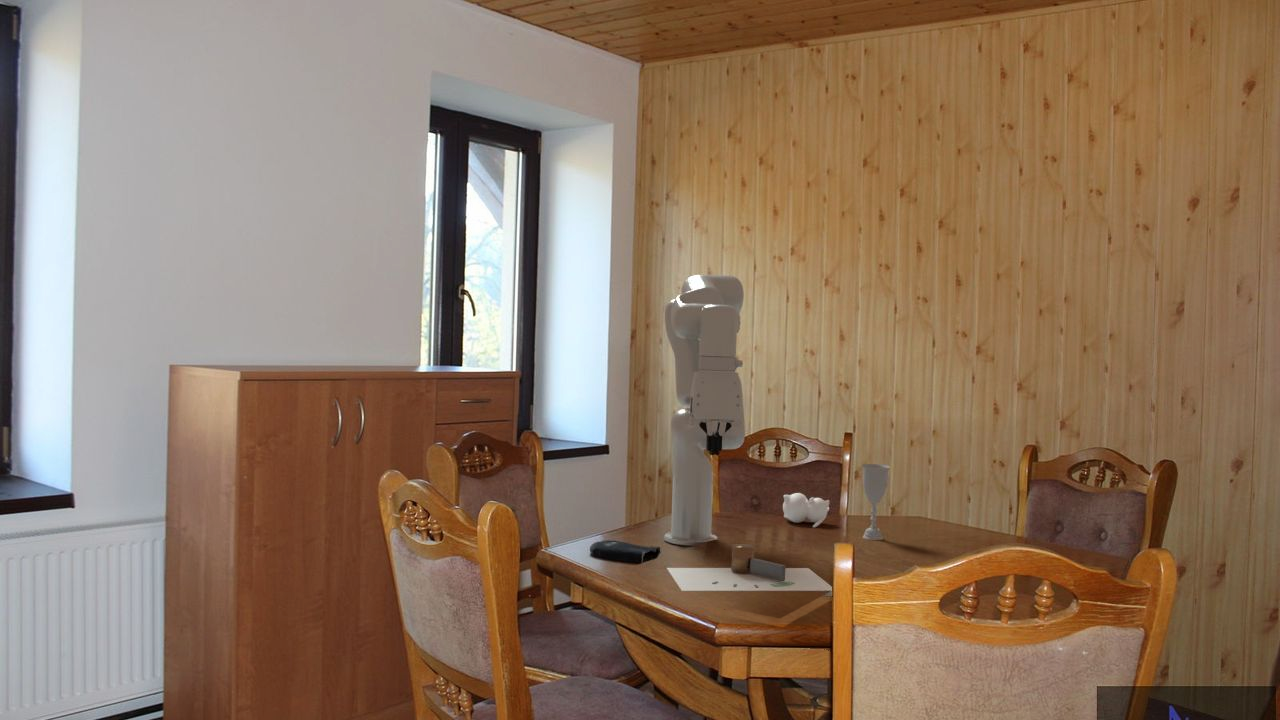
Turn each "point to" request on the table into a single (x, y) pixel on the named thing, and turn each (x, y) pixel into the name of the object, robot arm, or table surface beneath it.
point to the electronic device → (623, 551)
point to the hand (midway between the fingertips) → (713, 454)
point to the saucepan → (754, 563)
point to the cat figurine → (805, 508)
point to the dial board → (747, 580)
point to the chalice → (874, 493)
